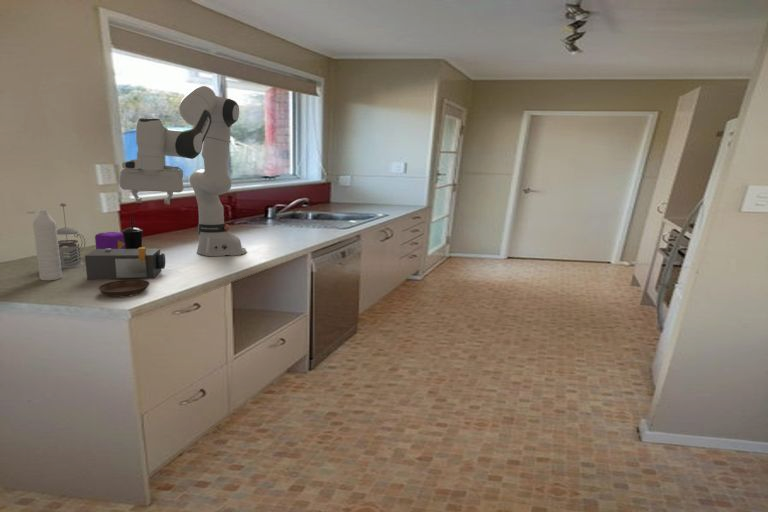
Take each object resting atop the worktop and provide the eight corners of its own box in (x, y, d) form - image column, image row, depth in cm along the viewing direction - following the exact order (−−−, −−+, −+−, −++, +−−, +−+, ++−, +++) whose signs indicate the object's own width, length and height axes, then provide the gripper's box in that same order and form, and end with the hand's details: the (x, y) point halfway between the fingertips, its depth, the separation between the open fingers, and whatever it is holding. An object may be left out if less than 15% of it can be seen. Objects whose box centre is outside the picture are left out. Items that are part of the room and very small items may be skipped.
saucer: (90, 293, 146) (89, 285, 146) (135, 283, 158) (135, 276, 158) (112, 302, 138) (112, 294, 138) (158, 292, 150) (158, 284, 150)
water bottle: (52, 275, 163) (43, 207, 157) (66, 277, 162) (59, 209, 156) (29, 281, 154) (19, 210, 149) (44, 283, 153) (35, 211, 148)
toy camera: (136, 250, 208) (134, 229, 206) (116, 257, 194) (114, 234, 192) (114, 249, 209) (112, 228, 207) (93, 255, 195) (91, 233, 193)
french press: (48, 266, 175) (41, 203, 169) (77, 260, 186) (71, 201, 180) (66, 269, 172) (58, 205, 166) (94, 263, 182) (88, 202, 177)
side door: (147, 276, 164) (145, 247, 161) (146, 277, 162) (144, 248, 160) (117, 276, 161) (114, 247, 159) (116, 278, 160) (113, 248, 157)
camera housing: (166, 270, 176) (165, 246, 174) (159, 278, 165) (157, 253, 163) (99, 271, 170) (97, 246, 168) (87, 280, 159) (84, 253, 157)
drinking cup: (149, 261, 190) (145, 215, 185) (132, 264, 183) (128, 216, 178) (137, 258, 193) (133, 213, 188) (120, 262, 186) (116, 215, 181)
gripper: (185, 166, 161) (185, 204, 164) (123, 162, 157) (125, 201, 160) (180, 167, 155) (181, 206, 158) (116, 162, 151) (119, 203, 154)
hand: (153, 203), depth 159 cm, fingers open, 8 cm apart
